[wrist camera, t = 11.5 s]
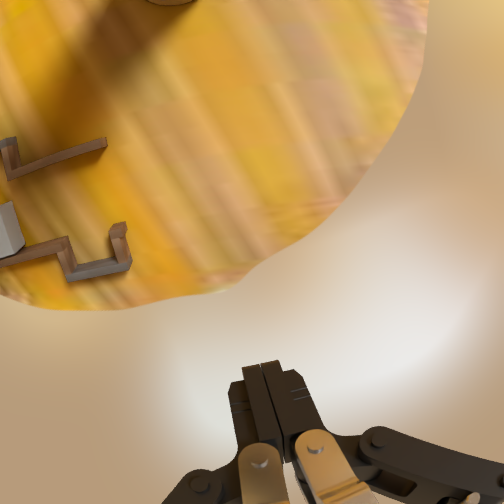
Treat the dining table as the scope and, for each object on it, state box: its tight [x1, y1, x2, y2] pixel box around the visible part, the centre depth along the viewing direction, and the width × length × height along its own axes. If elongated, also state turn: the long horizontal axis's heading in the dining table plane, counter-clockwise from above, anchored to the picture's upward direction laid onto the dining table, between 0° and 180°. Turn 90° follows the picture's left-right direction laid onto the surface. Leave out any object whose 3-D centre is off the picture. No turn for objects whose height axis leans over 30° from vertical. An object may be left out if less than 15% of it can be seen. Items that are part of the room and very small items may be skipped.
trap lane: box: [0, 137, 133, 282], centre depth 29 cm, size 19×22×2 cm
